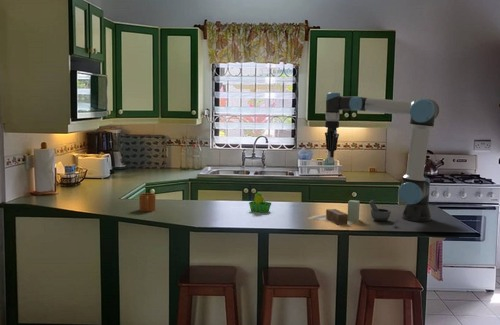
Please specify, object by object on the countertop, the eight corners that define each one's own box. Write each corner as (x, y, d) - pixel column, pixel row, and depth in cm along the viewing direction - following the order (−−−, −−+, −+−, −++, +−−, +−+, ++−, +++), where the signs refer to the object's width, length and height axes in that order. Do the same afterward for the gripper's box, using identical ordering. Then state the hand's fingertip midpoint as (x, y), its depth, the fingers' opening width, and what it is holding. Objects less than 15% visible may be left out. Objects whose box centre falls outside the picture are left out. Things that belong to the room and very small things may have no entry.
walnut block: (326, 209, 278) (338, 214, 264) (335, 208, 279) (347, 214, 266) (325, 218, 278) (338, 224, 265) (334, 218, 280) (347, 224, 266)
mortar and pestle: (388, 222, 281) (389, 199, 279) (391, 225, 271) (392, 202, 270) (367, 220, 282) (368, 198, 281) (368, 224, 273) (369, 201, 272)
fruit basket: (271, 211, 302) (272, 191, 301) (265, 214, 294) (266, 193, 293) (253, 209, 307) (254, 189, 306) (247, 211, 299) (247, 192, 298)
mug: (135, 212, 291) (135, 196, 290) (142, 208, 303) (141, 193, 302) (151, 213, 290) (151, 196, 289) (157, 209, 302) (157, 193, 301)
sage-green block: (358, 219, 277) (359, 200, 276) (357, 221, 272) (357, 202, 271) (349, 218, 279) (350, 200, 278) (347, 220, 274) (348, 201, 273)
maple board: (360, 222, 277) (360, 220, 277) (350, 227, 265) (350, 224, 265) (318, 216, 289) (318, 214, 289) (307, 221, 278) (307, 218, 277)
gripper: (321, 120, 301) (319, 161, 303) (331, 120, 288) (329, 164, 291) (333, 120, 303) (331, 161, 306) (343, 121, 291) (342, 164, 293)
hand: (330, 162), depth 298 cm, fingers closed
